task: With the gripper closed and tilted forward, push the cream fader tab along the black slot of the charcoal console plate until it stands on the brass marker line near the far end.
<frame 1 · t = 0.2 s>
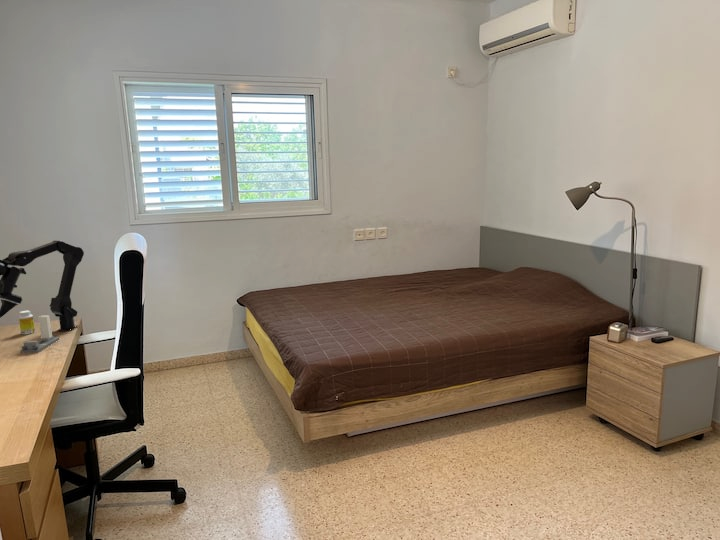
console: (40, 346, 213), on the table
supplement bottle: (28, 333, 232), on the table
fader tab: (45, 327, 216), point 7 cm above the table, slide at 0.0 cm
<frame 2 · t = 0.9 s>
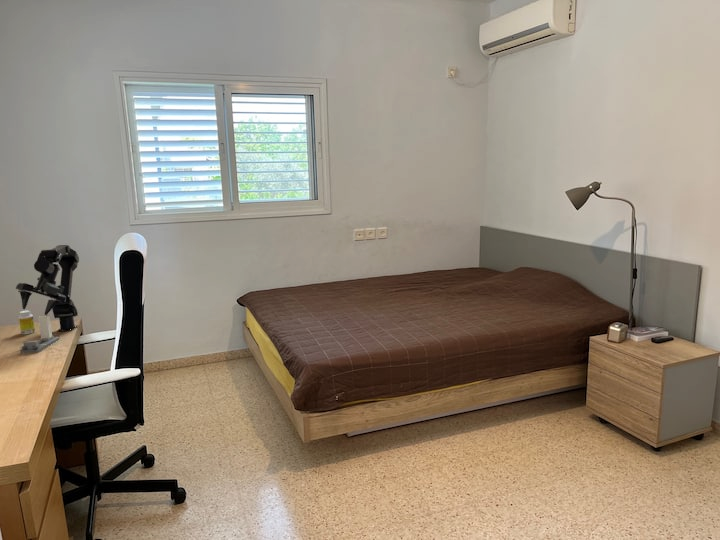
hand: (34, 312, 213), 14 cm above the table, tool tilted 30°, fingers open, 9 cm apart
nothing on the table moved.
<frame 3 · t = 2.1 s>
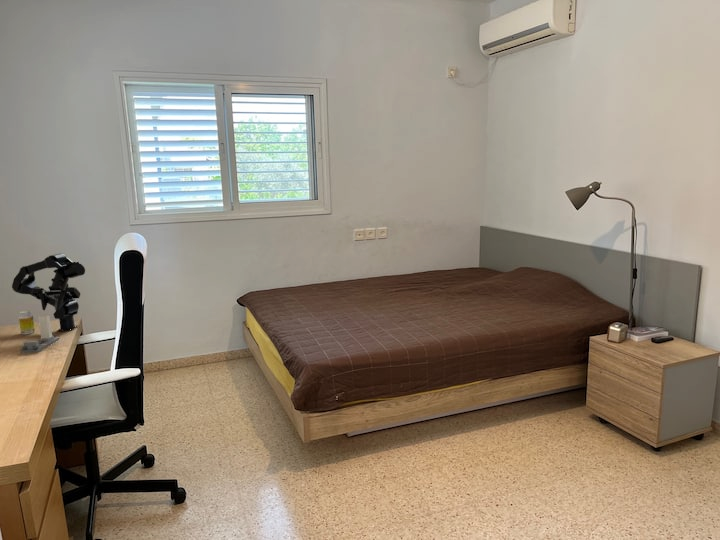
hand: (50, 309, 221), 13 cm above the table, tool tilted 45°, fingers open, 6 cm apart
nothing on the table moved.
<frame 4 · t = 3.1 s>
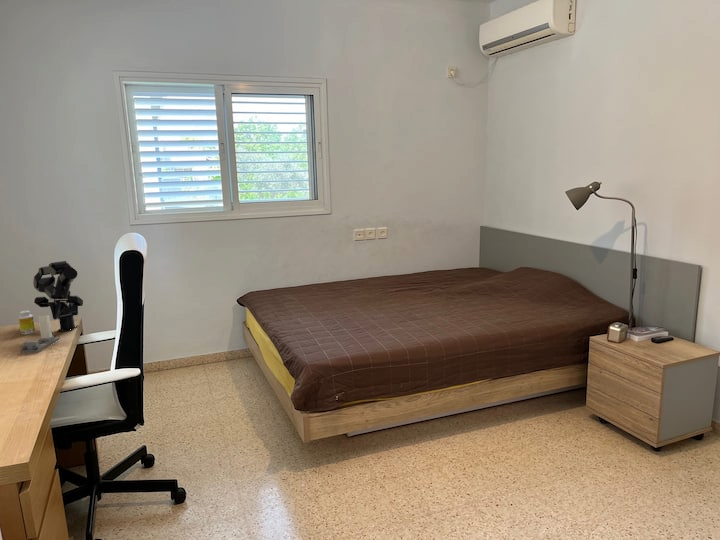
hand: (54, 319, 221), 9 cm above the table, tool tilted 40°, fingers closed
nothing on the table moved.
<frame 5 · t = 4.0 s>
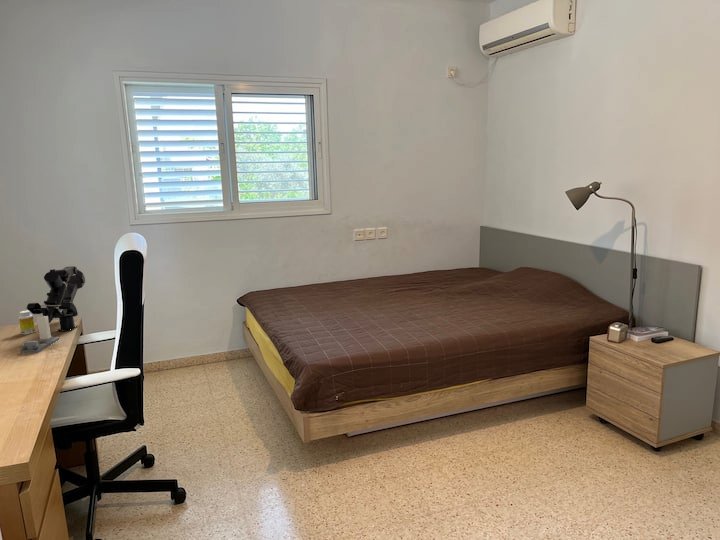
hand: (45, 325, 217), 8 cm above the table, tool tilted 45°, fingers closed, pressing on fader tab
fader tab: (44, 328, 215), point 7 cm above the table, slide at 0.9 cm, touching gripper
everything else where it was.
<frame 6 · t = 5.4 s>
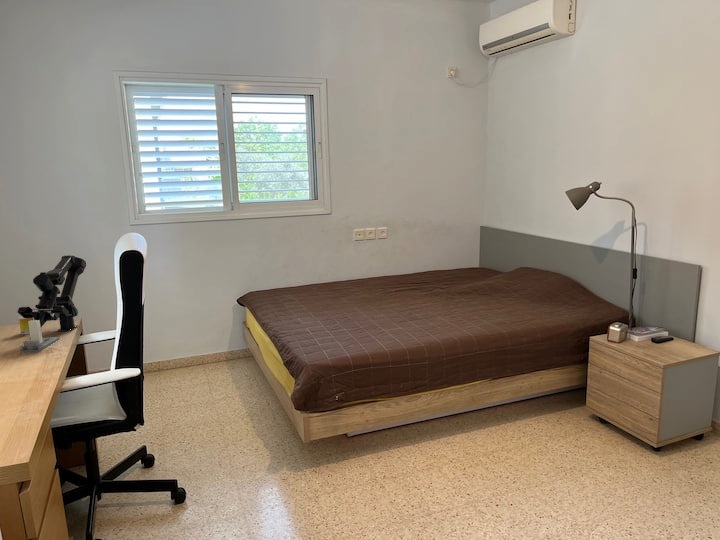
hand: (37, 329, 211), 8 cm above the table, tool tilted 45°, fingers closed, pressing on fader tab
fader tab: (35, 332, 209), point 7 cm above the table, slide at 7.0 cm, touching gripper
everything else where it was.
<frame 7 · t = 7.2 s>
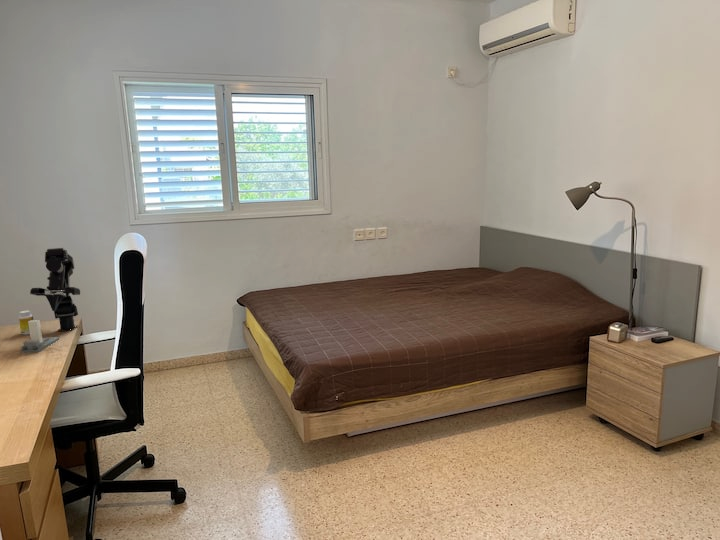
hand: (54, 311, 221), 13 cm above the table, tool tilted 20°, fingers closed
fader tab: (35, 332, 209), point 7 cm above the table, slide at 7.0 cm
everything else where it was.
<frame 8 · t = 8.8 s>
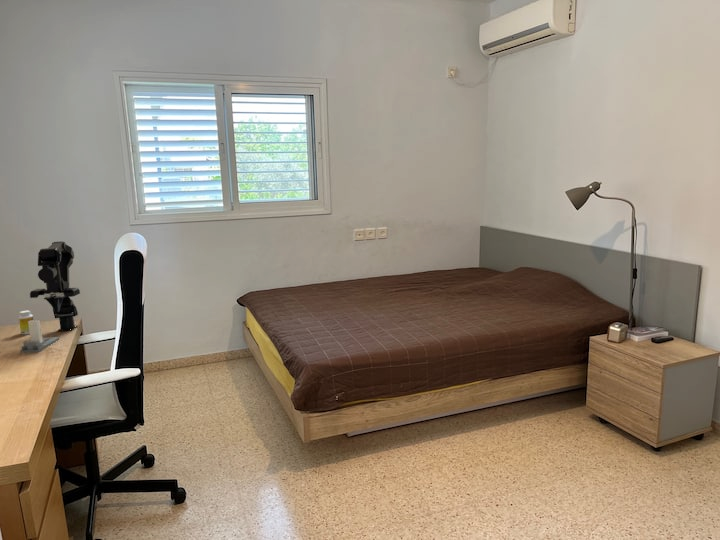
hand: (57, 311, 221), 12 cm above the table, tool pointing down, fingers closed
nothing on the table moved.
at the end: fader tab slide at 7.0 cm; fader tab 0.5 cm from the target spot, resting on console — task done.
